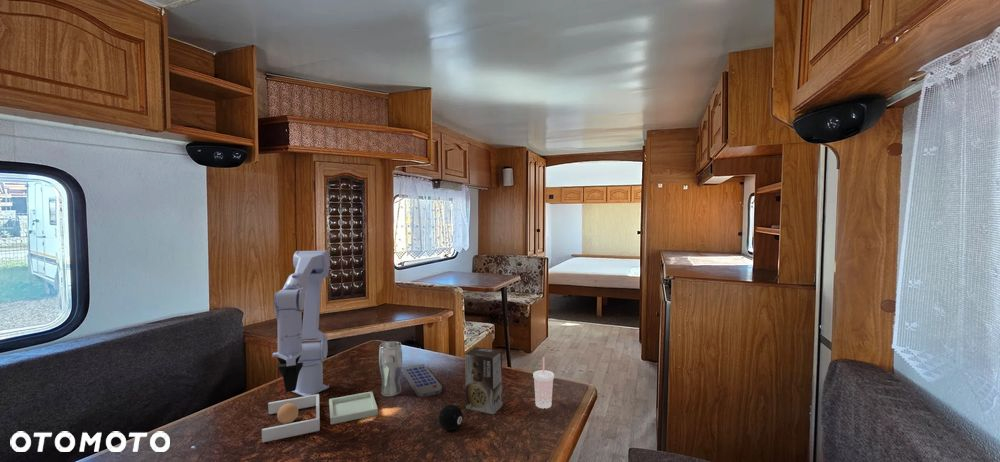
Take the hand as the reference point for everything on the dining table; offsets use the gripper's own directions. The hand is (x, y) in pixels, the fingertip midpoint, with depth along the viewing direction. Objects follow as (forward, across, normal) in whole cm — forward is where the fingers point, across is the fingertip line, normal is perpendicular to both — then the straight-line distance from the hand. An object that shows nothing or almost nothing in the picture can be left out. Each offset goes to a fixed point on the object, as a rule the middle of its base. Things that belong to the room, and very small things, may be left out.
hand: (290, 386), depth 106 cm
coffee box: (+10, +18, +49) cm, 53 cm away
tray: (+10, 0, +16) cm, 18 cm away
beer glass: (+9, -5, +28) cm, 30 cm away
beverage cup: (+10, +25, +64) cm, 70 cm away
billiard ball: (+11, +23, +36) cm, 44 cm away
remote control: (+9, -9, +39) cm, 41 cm away
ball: (+10, -1, 0) cm, 10 cm away
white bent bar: (+10, -1, +1) cm, 10 cm away
